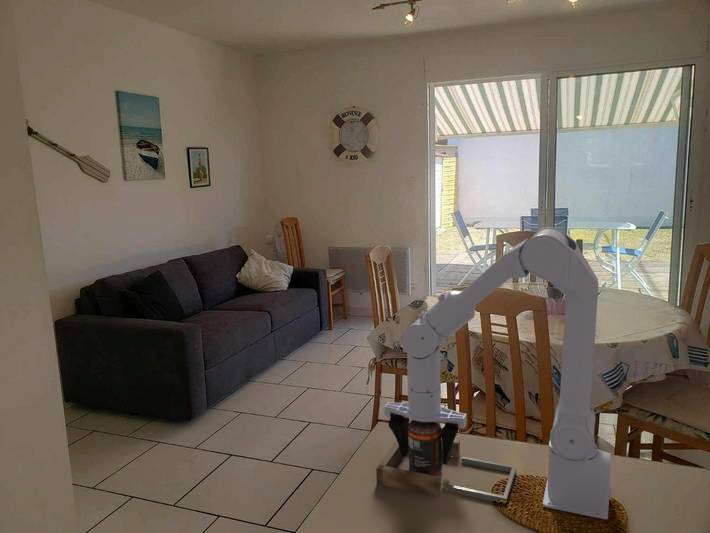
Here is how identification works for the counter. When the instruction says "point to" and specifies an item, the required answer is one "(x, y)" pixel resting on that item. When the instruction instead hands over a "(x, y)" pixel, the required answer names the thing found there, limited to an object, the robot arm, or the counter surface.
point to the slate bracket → (480, 493)
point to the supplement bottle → (425, 447)
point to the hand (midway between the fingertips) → (425, 457)
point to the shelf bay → (409, 473)
